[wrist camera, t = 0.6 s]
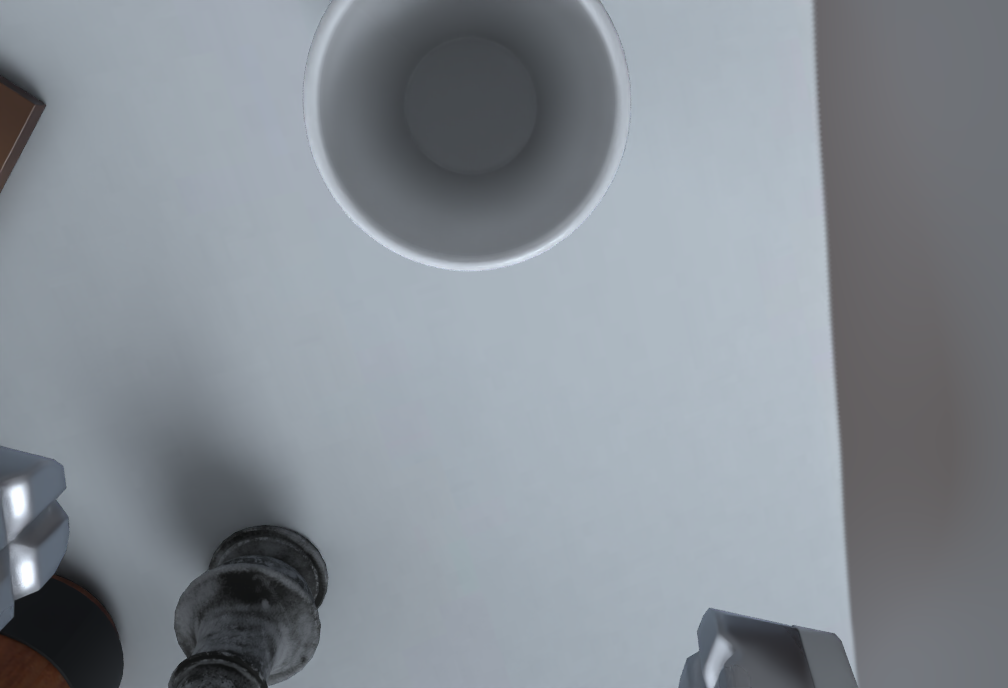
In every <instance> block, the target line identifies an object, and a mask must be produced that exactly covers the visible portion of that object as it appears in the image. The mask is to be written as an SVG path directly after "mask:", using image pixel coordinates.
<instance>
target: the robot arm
mask: <svg viewBox="0 0 1008 688" xmlns="http://www.w3.org/2000/svg"><path fill="white" fill-rule="evenodd" d="M65 489H66V482H65V474H64V467H63V465H61V464H60V463H58V462H57V461H56V460H54V459H51V458H47V457H43V456H39V455H35V454H31V453H27V452H23V451H19V450H15V449H11V448H7V447H3V446H0V631H1V630H2V629H3V628H4V627H5V626H6V624H7V623H8V622H9V621H10V620H11V619H12V618H13V617H14V601H15V600H17V599H19V598H22V597H24V596H27V595H29V594H31V593H34V592H36V591H39V590H40V589H41V588H42V587H43V585H44V584H45V583H46V582H47V581H48V580H49V579H50V578H51V577H52V576H53V575H54V573H55V572H56V570H57V568H58V566H59V564H60V562H61V560H62V558H63V556H64V554H65V552H66V549H67V544H68V538H69V533H70V531H69V517H68V515H67V514H66V513H65V511H64V510H63V509H62V507H61V506H60V505H59V503H58V502H57V501H56V499H57V498H58V496H59V495H60V494H61V493H62V492H63V491H64V490H65ZM697 635H698V644H699V652H697V653H695V654H694V655H692V656H690V657H689V658H687V660H686V663H685V666H684V669H683V672H682V675H681V678H680V682H679V688H858V686H857V683H856V680H855V678H854V675H853V672H852V669H851V666H850V664H849V661H848V658H847V655H846V652H845V650H844V647H843V644H842V641H841V640H840V639H839V638H838V637H837V635H836V634H834V633H829V632H825V631H820V630H815V629H810V628H805V627H800V626H795V625H792V626H789V625H786V624H782V623H777V622H772V621H768V620H763V619H759V618H754V617H750V616H745V615H741V614H736V613H731V612H727V611H722V610H718V609H713V608H709V609H708V610H707V611H706V613H705V614H704V615H703V618H702V620H701V623H700V625H699V628H698V630H697Z"/></svg>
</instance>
